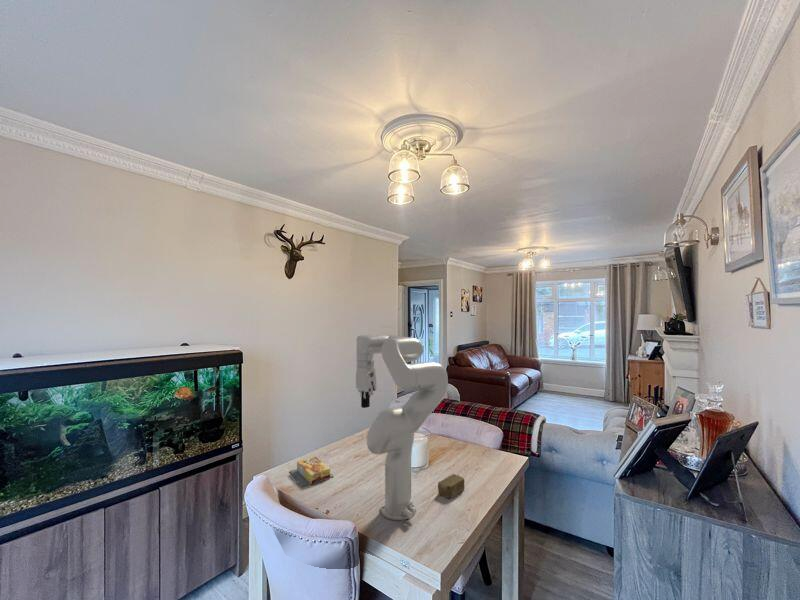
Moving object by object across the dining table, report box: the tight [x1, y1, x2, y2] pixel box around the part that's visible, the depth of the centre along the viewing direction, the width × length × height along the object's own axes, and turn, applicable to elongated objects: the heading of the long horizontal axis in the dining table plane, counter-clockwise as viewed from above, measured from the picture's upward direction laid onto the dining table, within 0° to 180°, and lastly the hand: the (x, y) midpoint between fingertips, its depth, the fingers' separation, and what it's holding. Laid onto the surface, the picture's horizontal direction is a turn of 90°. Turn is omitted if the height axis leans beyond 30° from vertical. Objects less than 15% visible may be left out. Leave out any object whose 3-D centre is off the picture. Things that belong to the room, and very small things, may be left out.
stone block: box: [437, 473, 465, 500], centre depth 133 cm, size 6×12×5 cm, turn 136°
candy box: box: [296, 456, 331, 485], centre depth 146 cm, size 9×4×15 cm
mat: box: [289, 468, 335, 487], centre depth 147 cm, size 16×14×1 cm
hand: (365, 407), depth 143 cm, fingers closed
